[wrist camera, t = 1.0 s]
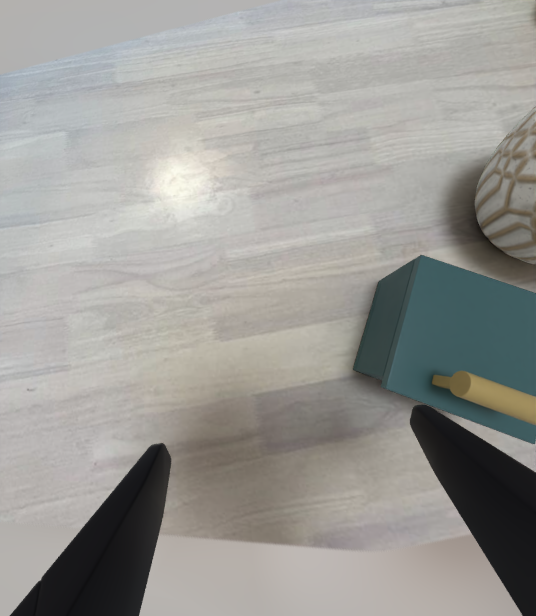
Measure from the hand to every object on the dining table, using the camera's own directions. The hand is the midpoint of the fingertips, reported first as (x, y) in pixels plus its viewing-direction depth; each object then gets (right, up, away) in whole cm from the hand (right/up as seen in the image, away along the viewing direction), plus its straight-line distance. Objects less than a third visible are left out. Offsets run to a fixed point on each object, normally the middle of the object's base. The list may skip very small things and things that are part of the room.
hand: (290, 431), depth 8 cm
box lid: (+14, +2, +10) cm, 17 cm away
